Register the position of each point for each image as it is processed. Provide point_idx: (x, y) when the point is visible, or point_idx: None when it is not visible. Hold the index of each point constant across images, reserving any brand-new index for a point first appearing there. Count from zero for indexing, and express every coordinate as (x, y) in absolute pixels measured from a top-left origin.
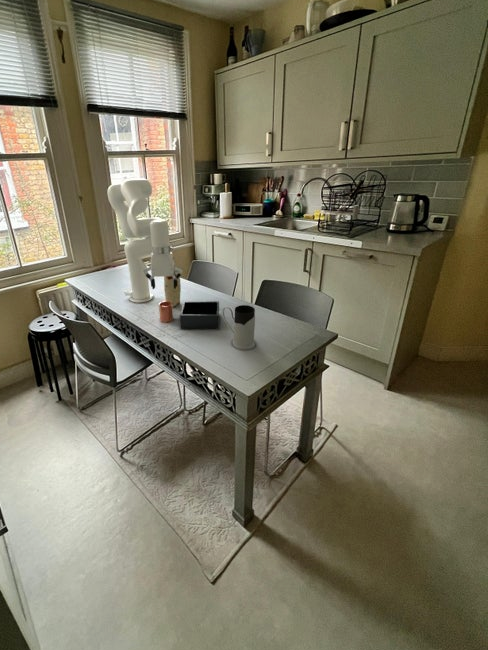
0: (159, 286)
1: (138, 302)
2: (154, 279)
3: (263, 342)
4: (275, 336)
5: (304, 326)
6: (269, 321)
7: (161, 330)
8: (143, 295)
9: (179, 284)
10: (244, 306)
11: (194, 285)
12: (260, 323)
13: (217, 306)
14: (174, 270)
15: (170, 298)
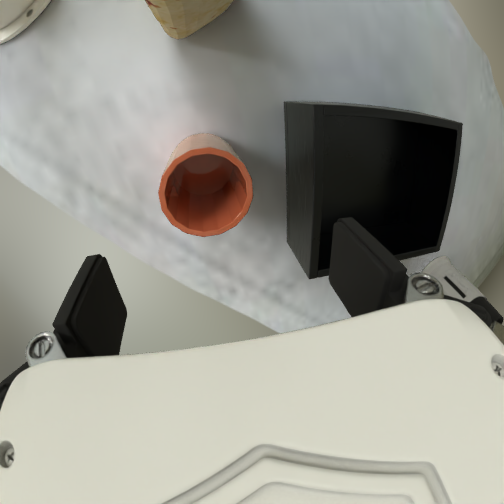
0: None
1: (11, 38)
2: (81, 329)
3: (460, 264)
4: (482, 238)
5: None
6: (497, 171)
7: (210, 263)
8: (16, 4)
9: None
10: (496, 317)
11: None
12: (485, 181)
13: (453, 176)
14: (479, 319)
15: (195, 24)
